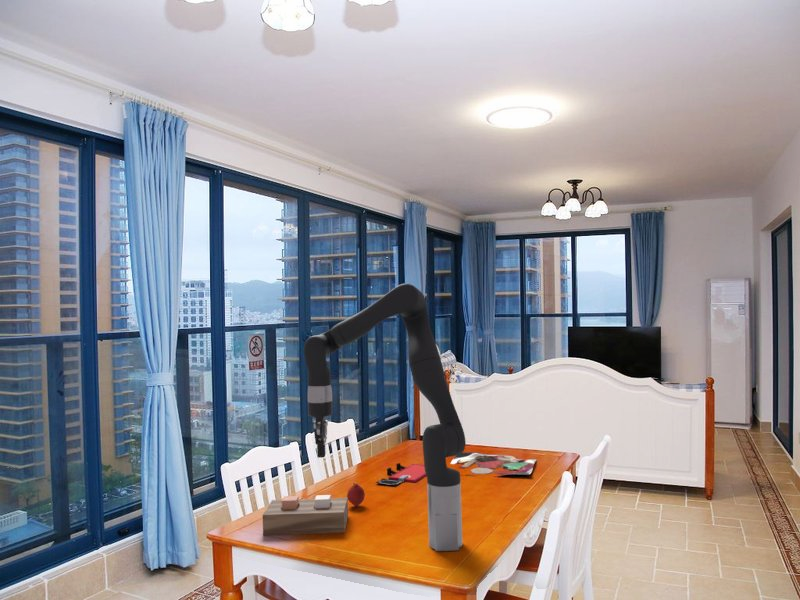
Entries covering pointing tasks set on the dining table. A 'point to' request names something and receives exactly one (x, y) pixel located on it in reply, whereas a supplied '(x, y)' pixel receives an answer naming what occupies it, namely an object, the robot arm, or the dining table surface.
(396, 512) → the dining table surface
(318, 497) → the white cube
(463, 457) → the multicolored flat sheet
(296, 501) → the key terracotta
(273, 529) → the wooden button box
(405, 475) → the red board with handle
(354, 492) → the onion
